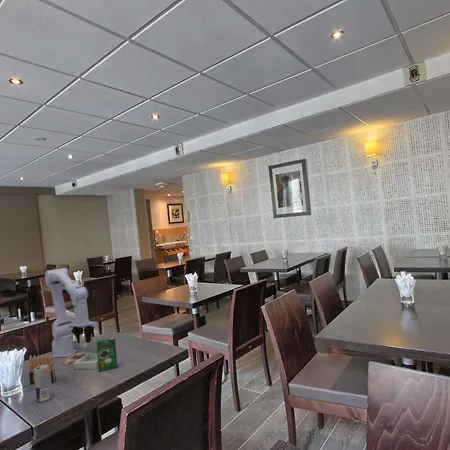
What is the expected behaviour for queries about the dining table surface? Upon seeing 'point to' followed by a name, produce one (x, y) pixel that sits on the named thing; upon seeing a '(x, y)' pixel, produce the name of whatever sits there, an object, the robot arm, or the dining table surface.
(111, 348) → the coffee box
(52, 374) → the ammunition clip
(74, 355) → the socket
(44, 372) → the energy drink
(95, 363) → the tray
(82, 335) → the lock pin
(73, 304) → the robot arm
